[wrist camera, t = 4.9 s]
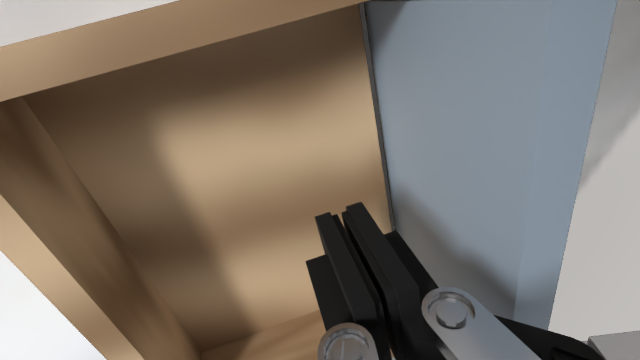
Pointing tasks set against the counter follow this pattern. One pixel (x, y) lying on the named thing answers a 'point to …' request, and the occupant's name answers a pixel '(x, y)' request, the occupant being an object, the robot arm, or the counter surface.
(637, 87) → the counter surface
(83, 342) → the counter surface
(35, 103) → the crate
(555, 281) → the panel
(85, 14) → the counter surface
